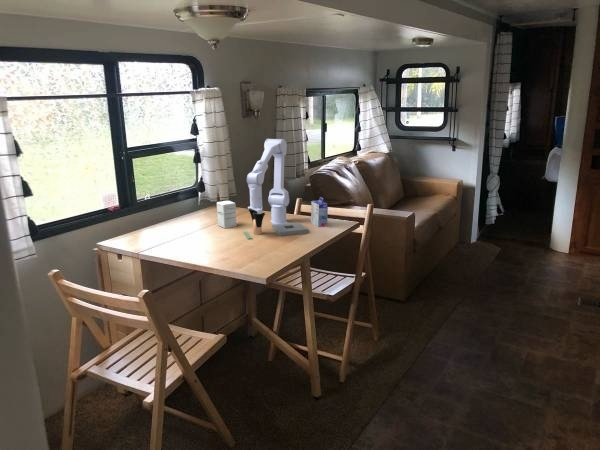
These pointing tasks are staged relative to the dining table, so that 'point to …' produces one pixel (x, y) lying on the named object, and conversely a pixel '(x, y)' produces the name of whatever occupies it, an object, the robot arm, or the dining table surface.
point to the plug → (257, 229)
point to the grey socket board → (289, 229)
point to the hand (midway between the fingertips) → (257, 225)
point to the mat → (247, 235)
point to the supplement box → (226, 214)
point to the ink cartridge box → (319, 213)
